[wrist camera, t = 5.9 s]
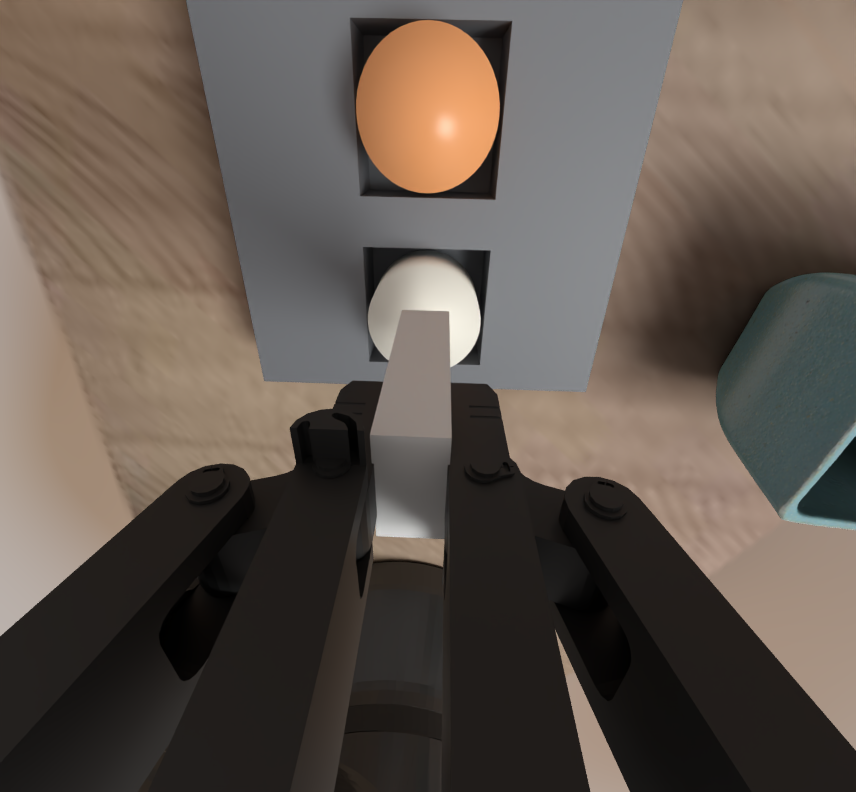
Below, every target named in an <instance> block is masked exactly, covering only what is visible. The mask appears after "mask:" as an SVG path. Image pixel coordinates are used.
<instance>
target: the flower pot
mask: <svg viewBox="0 0 856 792" xmlns="http://www.w3.org/2000/svg"><path fill="white" fill-rule="evenodd" d="M716 406H717V413H718V418H719V421H720V425H721V427H722V430H723V432H724V434H725V436H726V438H727V440H728V441H729V443H730V445H731V446H732V448H733V449H734V451H735V452H736V454H737V455H738V457H739V458H740V460H741V461H742V463H743V464H744V466H745V467H746V469H747V470H748V472H749V473H750V474H751V476H752V477H753V479H754V480H755V482H756V483H757V485H758V486H759V487H760V489H761V490H762V492H763V493H764V495H765V496H766V497H767V499H768V500H769V502H770V503H771V505H772V506H773V508H774V509H775V511H776V512H777V514H778V515H779V517H780V518H781V519H783V520H786V521H790V522H795V523H803V524H810V525H814V526H824V527H833V528H842V529H851V530H856V275H852V274H843V273H812V274H805V275H800V276H796V277H793V278H790V279H787V280H785V281H783V282H780V283H778V284H777V285H775V286H773V287H771V288H770V289H769V290H768V291H767V292H766V293H765V295H764V296H763V298H762V300H761V301H760V303H759V305H758V307H757V308H756V310H755V312H754V314H753V315H752V317H751V319H750V320H749V322H748V324H747V326H746V327H745V329H744V331H743V332H742V334H741V336H740V337H739V339H738V341H737V342H736V344H735V346H734V347H733V349H732V351H731V352H730V354H729V356H728V357H727V359H726V360H725V362H724V364H723V365H722V367H721V369H720V371H719V374H718V380H717V388H716Z"/></svg>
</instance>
